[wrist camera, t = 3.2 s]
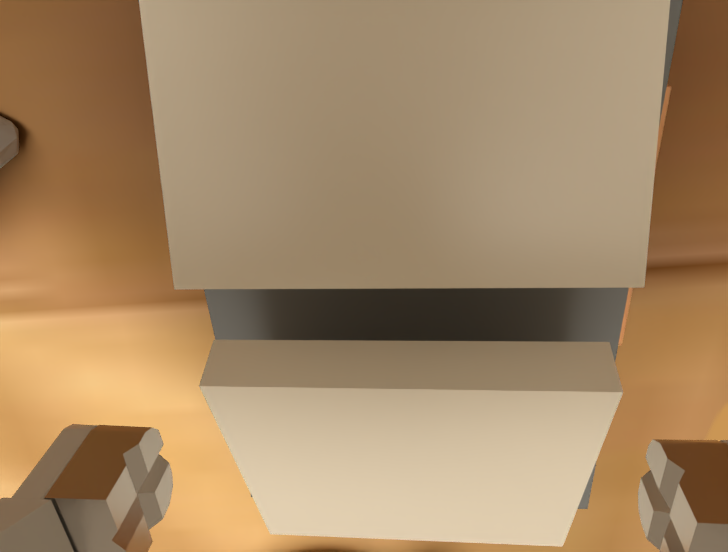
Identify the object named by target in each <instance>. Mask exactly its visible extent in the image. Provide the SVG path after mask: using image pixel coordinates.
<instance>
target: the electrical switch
mask: <svg viewBox="0 0 728 552" xmlns="http://www.w3.org/2000/svg"><path fill="white" fill-rule="evenodd" d="M18 152H19V135H18V129H17V127H16V126H15V125H14V124H13V123H12V122H11V121H9V120H7V119H5V118H3V117H1V116H0V168H2V167H3V166H4V165H5V164H6V163H8V162H9V161H10V160H11V159H12V158H13V157H15V156H16V155H17V154H18Z"/></svg>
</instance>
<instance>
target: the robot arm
mask: <svg viewBox="0 0 728 552" xmlns="http://www.w3.org/2000/svg"><path fill="white" fill-rule="evenodd" d="M162 446H163V441H162V438H161V436H160V433H159V430H157V429H154V428H150V427H130V426H110V425H98V426H96V425H78V424H72V425H70V426H68V427H66V428H65V429H63V430H62V432H61V433H60V434H59V436H58V437H57V438H56V440H55V441H54V442H53V444H52V445H51V446H50V448H49V449H48V450H47V452H46V453H45V454H44V456H43V457H42V458H41V459H40V461H39V462H38V463H37V465H36V466H35V467H34V469H33V470H32V471H31V473H30V474H29V475H28V477H27V478H26V479H25V481H24V482H23V483H22V485H21V486H20V487H19V489H18V490H17V491H16V493H15V494H14V495H13V496H12V498H2V499H0V552H148V550H149V548H150V546H151V544H152V542H153V541H152V538H151V535H150V531H149V529H151V528H152V527H153V526H154V525H156V524H157V523H158V522H159V521H161V520H162V519H163V518H164V515H165V513H166V511H167V509H168V506H169V504H170V499H171V493H172V488H173V481H172V471H171V468H170V464H169V463H168V462H167V461H166V460H165V459H164V458H163V457H162V456H160V455H159V452H160V450H161V448H162ZM646 460H647V462H648V464H649V467H650V469H651V470H650V471H649V472H648V473H646V474H645V475H644V476H643V477H641V480H640V486H639V491H638V504H639V514H640V519H641V523H642V527H643V529H644V532H645V535H646V538H647V540H649V541H650V542H651V543H652V544H653V545H654V546H655V547H657V548H658V549H659V550H660V552H728V440H721V441H717V440H657V439H653V440H652V442H651V443H650V444H649V446H648V450H647V454H646Z"/></svg>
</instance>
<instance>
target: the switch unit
mask: <svg viewBox="0 0 728 552" xmlns="http://www.w3.org/2000/svg"><path fill="white" fill-rule="evenodd" d="M138 2H139V0H138ZM682 2H683V0H670V10H669V21H668V32H667V43H666V54H665V65H664V76H663V87H662V98H661V109H660V120H659V131H658V142H657V153H656V164H655V170H656V165H657V159H658V154H659V149H660V144H661V139H662V133H663V128H664V123H665V118H666V113H667V107H668V102H669V97H670V92H671V87H670V86H669V85H667V82H668V77H669V72H670V66H671V61H672V56H673V50H674V45H675V40H676V34H677V29H678V24H679V18H680V13H681V8H682ZM632 290H633V288H396V289H204V291H205V296H206V300H207V304H208V309H209V313H210V318H211V322H212V326H213V331H214V335H215V339H216V340H364V341H543V342H610V346H611V350H612V353H613V357H614V361H615V359H616V354H617V348H618V345H622V342H623V337H624V332H625V326H626V321H627V316H628V311H629V306H630V300H631V295H632ZM595 466H596V463H595V465H594V468H593V470H592V473H591V475H590V478H589V480H588V483H587V485H586V488H585V491H584V493H583V496H582V498H581V501H580V503H579V506H578V508H577V509H587V508H588V503H589V498H590V492H591V487H592V482H593V476H594V471H595ZM251 497H252V495H251Z"/></svg>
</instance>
